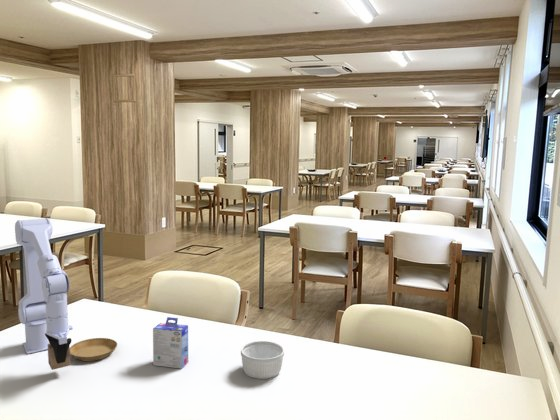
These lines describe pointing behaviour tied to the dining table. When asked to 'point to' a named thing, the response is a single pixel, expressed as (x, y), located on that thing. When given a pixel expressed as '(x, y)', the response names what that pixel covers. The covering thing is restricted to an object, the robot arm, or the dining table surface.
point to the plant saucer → (93, 349)
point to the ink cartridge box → (170, 344)
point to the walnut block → (53, 361)
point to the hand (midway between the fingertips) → (59, 358)
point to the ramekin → (262, 359)
